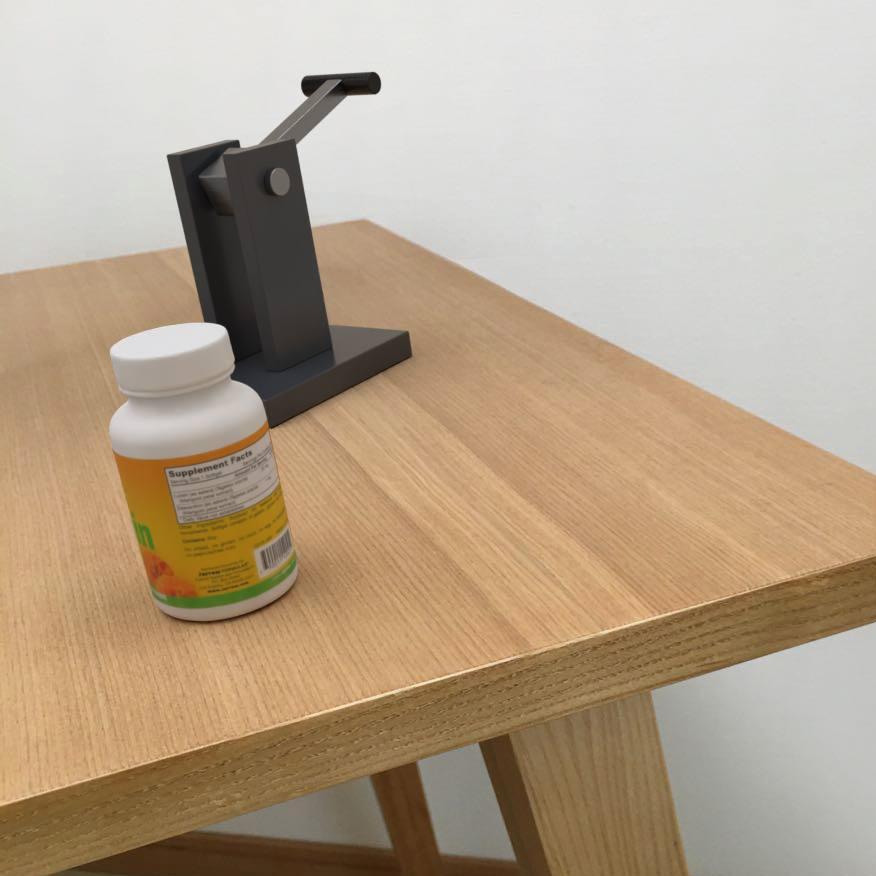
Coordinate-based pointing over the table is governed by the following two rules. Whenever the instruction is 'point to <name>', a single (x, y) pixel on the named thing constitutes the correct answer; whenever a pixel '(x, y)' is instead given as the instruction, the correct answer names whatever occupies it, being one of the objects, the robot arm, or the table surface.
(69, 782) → the table surface
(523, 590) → the table surface
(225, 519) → the supplement bottle
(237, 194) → the bracket
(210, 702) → the table surface
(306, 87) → the press lever
